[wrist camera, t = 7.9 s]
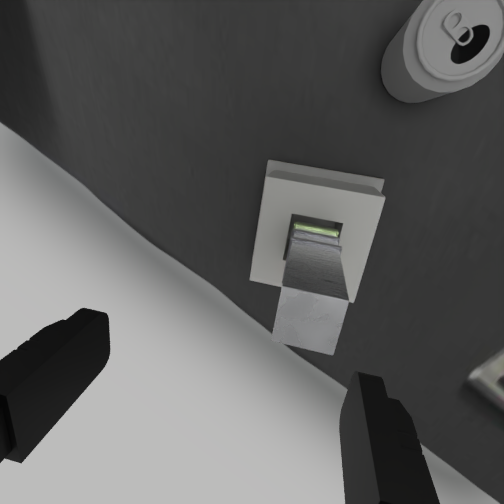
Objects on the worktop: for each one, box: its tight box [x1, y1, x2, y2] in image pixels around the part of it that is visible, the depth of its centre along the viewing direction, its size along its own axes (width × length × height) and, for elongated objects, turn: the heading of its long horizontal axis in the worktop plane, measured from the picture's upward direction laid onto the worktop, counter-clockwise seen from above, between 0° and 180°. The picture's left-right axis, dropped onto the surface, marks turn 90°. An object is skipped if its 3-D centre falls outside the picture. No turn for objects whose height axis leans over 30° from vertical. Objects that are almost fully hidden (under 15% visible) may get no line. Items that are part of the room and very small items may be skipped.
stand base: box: [250, 159, 386, 303], centre depth 38 cm, size 14×14×9 cm
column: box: [271, 221, 349, 355], centre depth 27 cm, size 4×4×16 cm
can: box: [381, 0, 504, 103], centre depth 28 cm, size 8×8×12 cm
